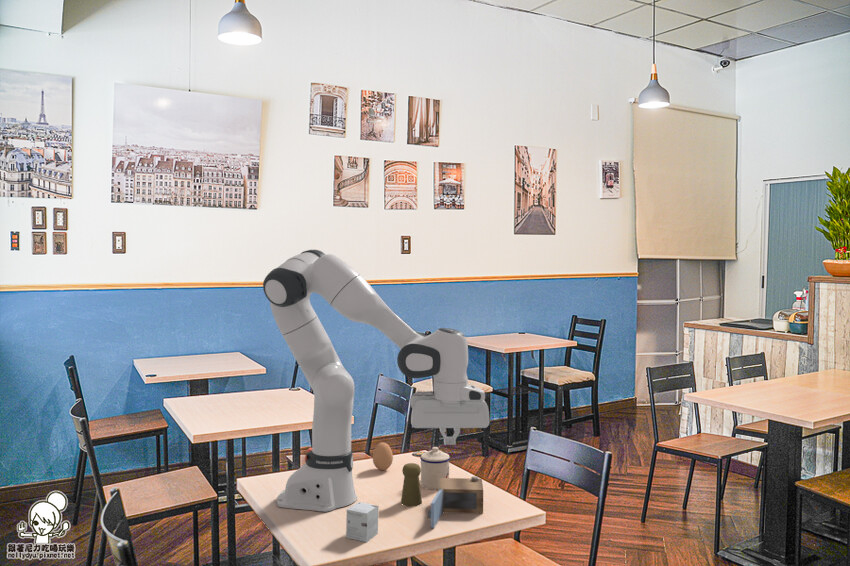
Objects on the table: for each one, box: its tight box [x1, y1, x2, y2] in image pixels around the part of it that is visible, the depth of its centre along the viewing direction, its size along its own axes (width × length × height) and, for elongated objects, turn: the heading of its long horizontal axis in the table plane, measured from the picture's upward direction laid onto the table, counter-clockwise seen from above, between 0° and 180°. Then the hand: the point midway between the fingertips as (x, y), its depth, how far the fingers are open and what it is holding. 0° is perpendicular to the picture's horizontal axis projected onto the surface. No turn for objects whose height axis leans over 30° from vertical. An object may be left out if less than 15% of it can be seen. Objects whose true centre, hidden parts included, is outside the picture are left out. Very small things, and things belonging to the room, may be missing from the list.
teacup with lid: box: [419, 446, 451, 490], centre depth 203 cm, size 12×9×12 cm
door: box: [426, 489, 444, 529], centre depth 175 cm, size 11×2×6 cm, turn 166°
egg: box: [372, 441, 394, 472], centre depth 216 cm, size 7×7×9 cm
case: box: [439, 476, 484, 514], centre depth 185 cm, size 12×9×7 cm
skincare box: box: [345, 501, 379, 543], centre depth 165 cm, size 6×6×7 cm
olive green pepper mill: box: [400, 462, 423, 507], centre depth 188 cm, size 6×6×11 cm
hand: (449, 444), depth 171 cm, fingers closed
